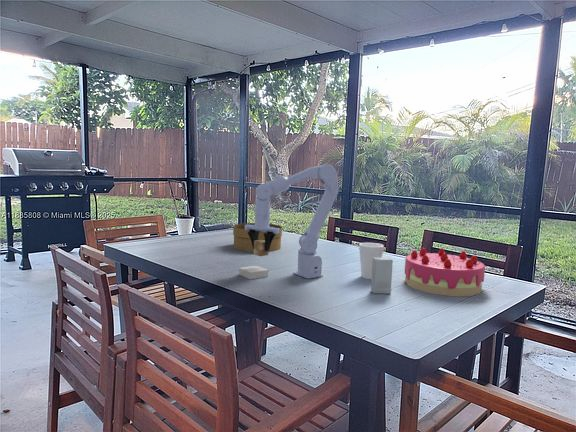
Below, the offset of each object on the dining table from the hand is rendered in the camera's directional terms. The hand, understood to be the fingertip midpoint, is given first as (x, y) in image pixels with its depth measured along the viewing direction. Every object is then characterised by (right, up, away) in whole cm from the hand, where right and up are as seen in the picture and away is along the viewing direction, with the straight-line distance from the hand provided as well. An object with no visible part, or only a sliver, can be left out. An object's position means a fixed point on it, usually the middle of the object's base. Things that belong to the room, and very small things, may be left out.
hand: (261, 249), depth 164 cm
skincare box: (+43, -14, -17) cm, 48 cm away
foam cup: (+43, -11, +2) cm, 44 cm away
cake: (+69, -13, -5) cm, 70 cm away
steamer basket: (-5, -3, +53) cm, 53 cm away
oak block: (0, -2, 0) cm, 2 cm away
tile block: (-3, -10, -2) cm, 11 cm away
